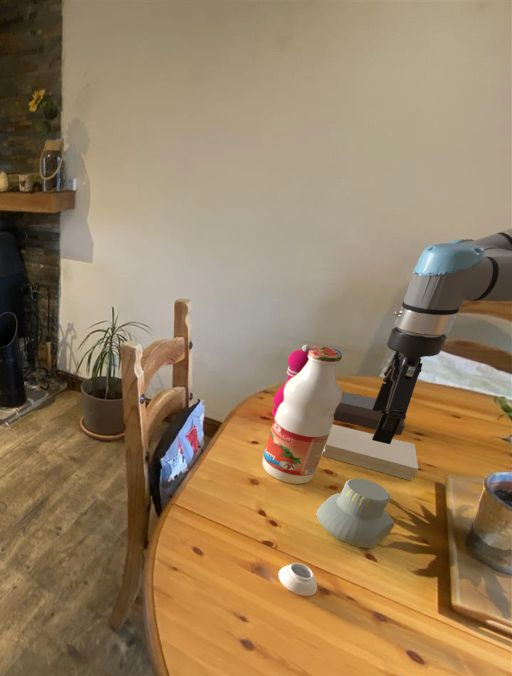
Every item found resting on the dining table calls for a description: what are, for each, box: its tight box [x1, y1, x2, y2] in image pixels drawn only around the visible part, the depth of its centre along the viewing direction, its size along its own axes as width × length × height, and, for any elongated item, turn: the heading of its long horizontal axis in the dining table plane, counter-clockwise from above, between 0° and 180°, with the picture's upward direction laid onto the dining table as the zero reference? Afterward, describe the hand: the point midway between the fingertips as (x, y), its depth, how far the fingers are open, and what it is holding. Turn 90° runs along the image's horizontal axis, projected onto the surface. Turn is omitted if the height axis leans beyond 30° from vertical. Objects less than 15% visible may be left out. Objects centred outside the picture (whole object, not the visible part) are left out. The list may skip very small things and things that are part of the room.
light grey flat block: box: [321, 449, 418, 481], centre depth 91 cm, size 15×8×2 cm, turn 52°
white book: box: [324, 424, 419, 474], centre depth 90 cm, size 15×10×1 cm, turn 52°
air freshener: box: [315, 478, 395, 549], centre depth 72 cm, size 11×8×10 cm
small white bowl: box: [278, 562, 318, 597], centre depth 65 cm, size 5×3×5 cm
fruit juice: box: [261, 346, 343, 485], centre depth 83 cm, size 9×9×28 cm
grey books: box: [333, 391, 407, 436], centre depth 103 cm, size 13×7×5 cm, turn 52°
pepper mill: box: [271, 344, 312, 418], centre depth 103 cm, size 7×7×20 cm
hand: (380, 425), depth 87 cm, fingers open, 13 cm apart
